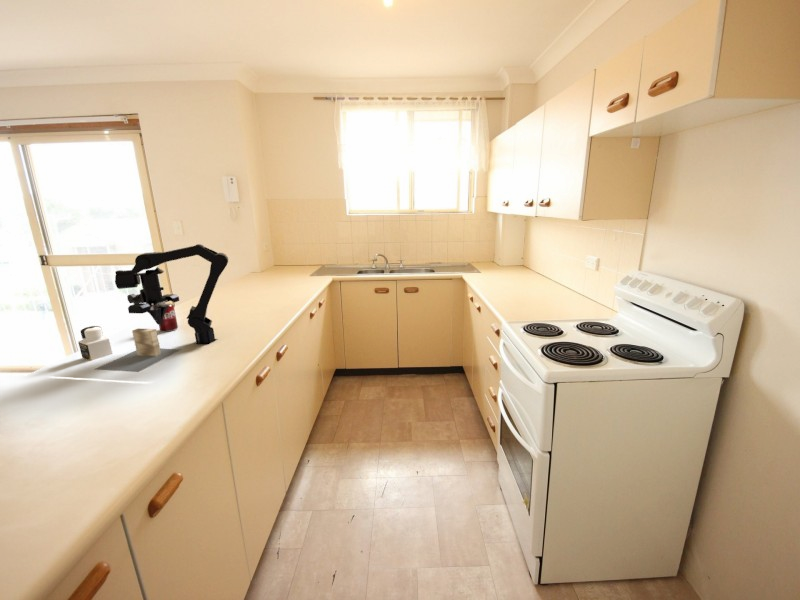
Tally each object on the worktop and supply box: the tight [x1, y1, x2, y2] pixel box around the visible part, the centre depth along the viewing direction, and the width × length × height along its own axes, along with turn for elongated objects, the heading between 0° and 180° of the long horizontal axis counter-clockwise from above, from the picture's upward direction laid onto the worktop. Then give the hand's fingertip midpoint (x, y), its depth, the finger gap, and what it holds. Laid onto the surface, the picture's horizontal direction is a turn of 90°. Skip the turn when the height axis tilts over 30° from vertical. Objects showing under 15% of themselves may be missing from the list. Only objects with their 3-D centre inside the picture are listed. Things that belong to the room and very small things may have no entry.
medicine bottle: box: [78, 325, 113, 361], centre depth 135 cm, size 7×7×12 cm
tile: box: [131, 328, 161, 356], centre depth 135 cm, size 8×2×10 cm, turn 81°
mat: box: [94, 347, 182, 373], centre depth 132 cm, size 18×20×1 cm
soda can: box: [158, 303, 179, 333], centre depth 165 cm, size 7×7×12 cm
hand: (159, 324), depth 141 cm, fingers closed
